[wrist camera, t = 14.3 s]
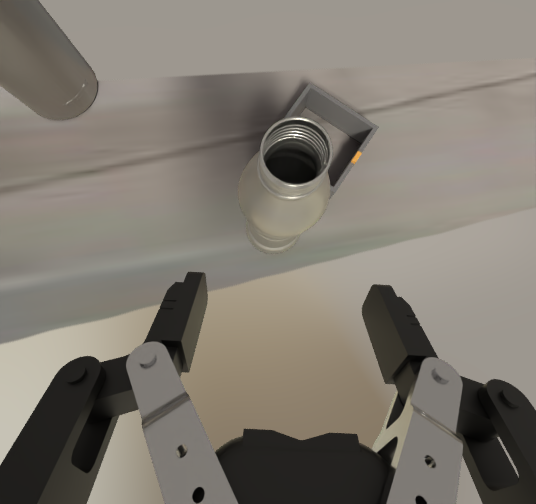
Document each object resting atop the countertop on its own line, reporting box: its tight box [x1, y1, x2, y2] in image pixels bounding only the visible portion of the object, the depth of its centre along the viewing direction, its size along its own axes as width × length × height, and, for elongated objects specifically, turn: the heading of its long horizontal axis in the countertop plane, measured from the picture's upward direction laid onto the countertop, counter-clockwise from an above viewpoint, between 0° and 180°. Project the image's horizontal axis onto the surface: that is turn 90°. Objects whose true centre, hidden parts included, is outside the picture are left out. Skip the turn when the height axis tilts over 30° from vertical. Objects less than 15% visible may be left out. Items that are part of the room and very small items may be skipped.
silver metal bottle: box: [238, 117, 333, 254], centre depth 22 cm, size 6×7×20 cm
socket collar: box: [284, 83, 379, 199], centre depth 32 cm, size 10×10×4 cm
